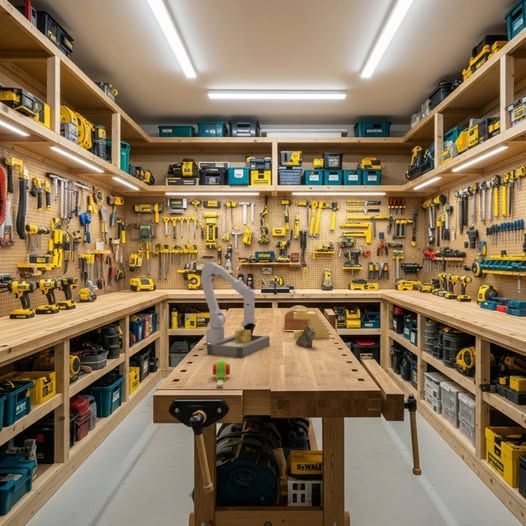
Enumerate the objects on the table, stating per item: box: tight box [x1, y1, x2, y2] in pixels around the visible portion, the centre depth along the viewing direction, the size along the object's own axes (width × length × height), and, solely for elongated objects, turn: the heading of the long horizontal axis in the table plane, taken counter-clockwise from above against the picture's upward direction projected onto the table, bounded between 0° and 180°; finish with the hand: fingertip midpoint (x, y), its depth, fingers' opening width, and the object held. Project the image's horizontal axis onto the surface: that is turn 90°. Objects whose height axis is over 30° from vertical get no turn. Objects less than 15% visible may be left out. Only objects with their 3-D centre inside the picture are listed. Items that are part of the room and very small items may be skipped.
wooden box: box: [284, 305, 311, 331], centre depth 268 cm, size 30×16×14 cm, turn 170°
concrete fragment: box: [295, 325, 315, 348], centre depth 209 cm, size 6×19×11 cm, turn 29°
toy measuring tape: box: [212, 359, 231, 389], centre depth 148 cm, size 6×19×7 cm, turn 3°
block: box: [234, 328, 251, 344], centre depth 204 cm, size 6×6×6 cm
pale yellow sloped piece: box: [293, 309, 330, 339], centre depth 234 cm, size 20×9×16 cm, turn 94°
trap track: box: [206, 334, 270, 358], centre depth 201 cm, size 19×31×4 cm, turn 155°
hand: (249, 337), depth 211 cm, fingers closed
